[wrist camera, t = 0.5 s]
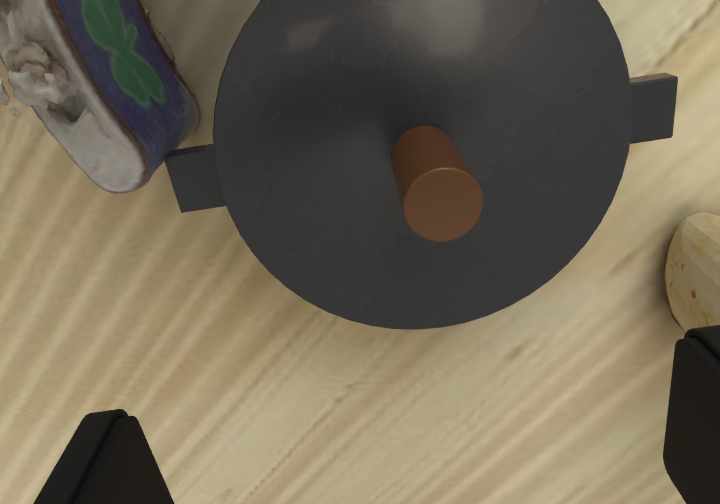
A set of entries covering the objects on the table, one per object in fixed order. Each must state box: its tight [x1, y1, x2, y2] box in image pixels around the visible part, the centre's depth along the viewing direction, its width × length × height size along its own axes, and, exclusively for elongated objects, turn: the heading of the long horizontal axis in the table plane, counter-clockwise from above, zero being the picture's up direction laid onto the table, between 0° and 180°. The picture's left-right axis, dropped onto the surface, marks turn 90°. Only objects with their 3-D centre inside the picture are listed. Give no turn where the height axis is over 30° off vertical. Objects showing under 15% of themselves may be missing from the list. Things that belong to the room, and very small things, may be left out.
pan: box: [164, 73, 678, 213], centre depth 25 cm, size 15×20×8 cm
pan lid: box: [213, 0, 632, 329], centre depth 20 cm, size 16×16×6 cm
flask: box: [0, 0, 200, 193], centre depth 22 cm, size 9×3×11 cm, turn 21°
